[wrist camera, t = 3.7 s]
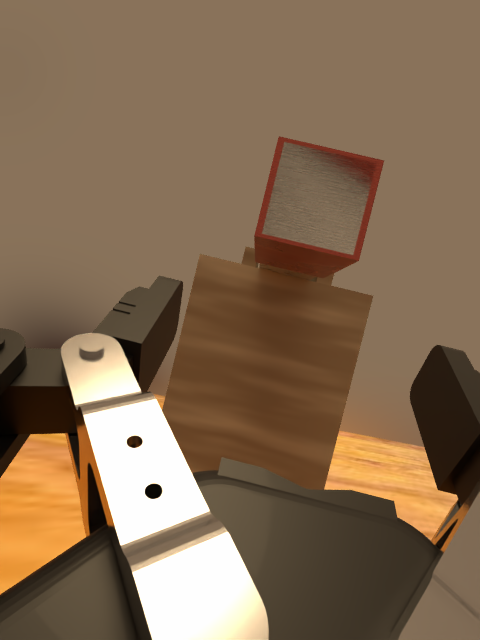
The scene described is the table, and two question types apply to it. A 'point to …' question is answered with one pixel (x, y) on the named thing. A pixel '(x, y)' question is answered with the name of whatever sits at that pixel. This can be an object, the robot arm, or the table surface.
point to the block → (315, 209)
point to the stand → (263, 369)
